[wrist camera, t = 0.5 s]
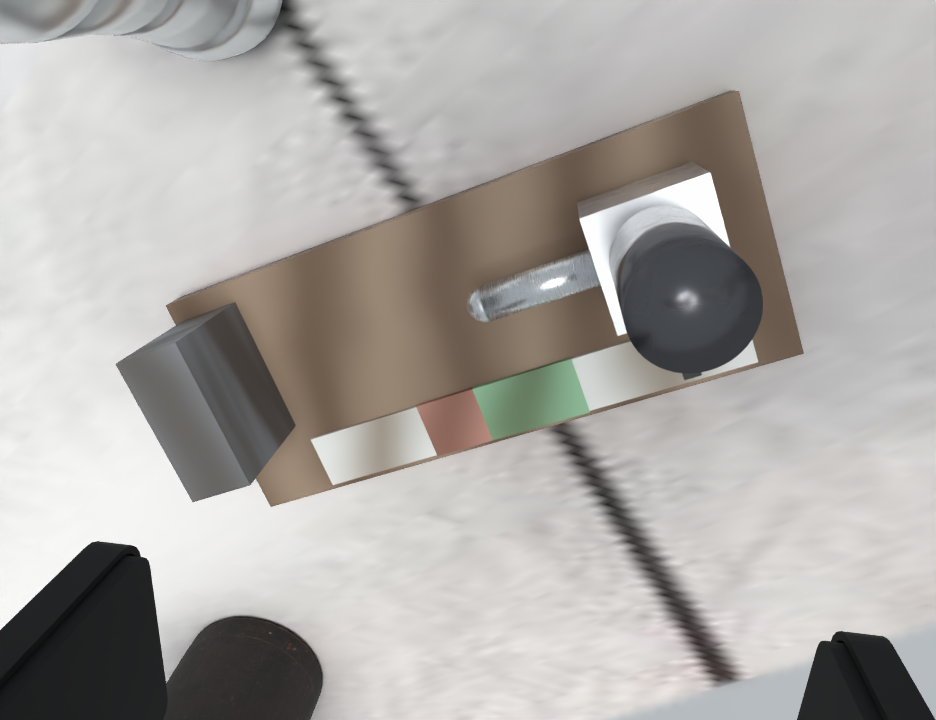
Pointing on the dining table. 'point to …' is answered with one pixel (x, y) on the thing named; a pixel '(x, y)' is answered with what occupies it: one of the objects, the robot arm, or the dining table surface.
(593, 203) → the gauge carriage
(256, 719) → the container
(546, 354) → the gauge base
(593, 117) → the dining table surface
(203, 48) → the plastic bottle
